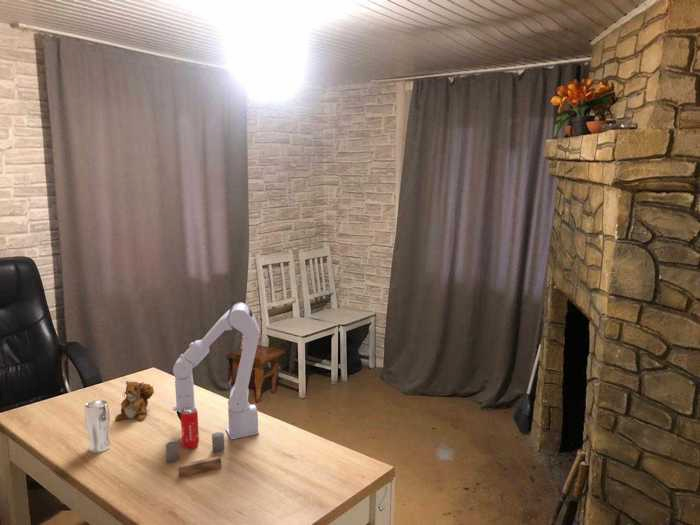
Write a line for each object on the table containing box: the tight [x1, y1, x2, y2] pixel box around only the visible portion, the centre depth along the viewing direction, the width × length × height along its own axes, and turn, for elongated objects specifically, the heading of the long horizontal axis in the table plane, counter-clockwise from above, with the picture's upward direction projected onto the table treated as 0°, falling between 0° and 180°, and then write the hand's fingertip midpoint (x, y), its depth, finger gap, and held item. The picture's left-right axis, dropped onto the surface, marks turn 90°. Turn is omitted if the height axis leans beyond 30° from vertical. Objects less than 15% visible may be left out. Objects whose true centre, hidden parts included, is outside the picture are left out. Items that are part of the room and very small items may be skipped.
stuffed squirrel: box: [114, 380, 155, 422], centre depth 196 cm, size 10×14×13 cm
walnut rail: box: [177, 455, 222, 478], centre depth 160 cm, size 12×2×3 cm, turn 116°
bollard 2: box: [211, 431, 225, 453], centre depth 172 cm, size 4×4×5 cm
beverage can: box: [180, 407, 200, 449], centre depth 174 cm, size 5×5×12 cm
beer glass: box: [84, 399, 111, 454], centre depth 172 cm, size 7×7×15 cm
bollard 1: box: [165, 441, 180, 464], centre depth 166 cm, size 4×4×5 cm
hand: (187, 431), depth 181 cm, fingers closed
